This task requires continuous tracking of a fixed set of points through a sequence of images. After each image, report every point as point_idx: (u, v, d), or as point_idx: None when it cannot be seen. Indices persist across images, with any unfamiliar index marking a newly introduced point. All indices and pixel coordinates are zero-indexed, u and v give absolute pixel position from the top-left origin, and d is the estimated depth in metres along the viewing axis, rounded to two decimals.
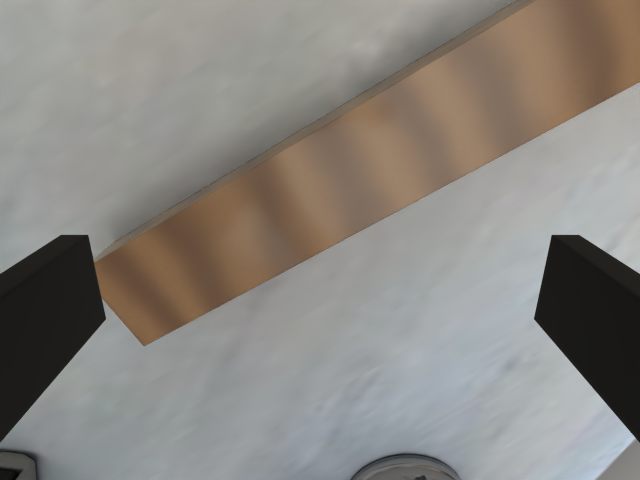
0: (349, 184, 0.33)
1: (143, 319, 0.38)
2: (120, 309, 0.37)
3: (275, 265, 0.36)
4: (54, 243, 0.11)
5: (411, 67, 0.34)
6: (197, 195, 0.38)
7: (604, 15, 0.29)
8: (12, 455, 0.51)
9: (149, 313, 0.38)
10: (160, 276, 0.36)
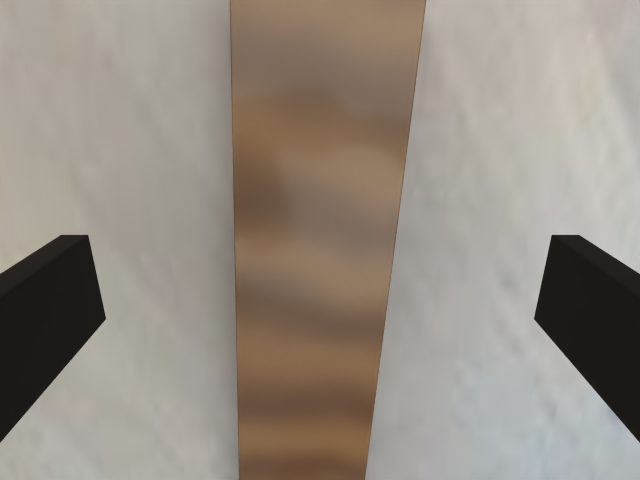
0: None
1: None
2: None
3: None
4: (54, 243, 0.11)
5: None
6: None
7: (287, 453, 0.29)
8: None
9: None
10: None
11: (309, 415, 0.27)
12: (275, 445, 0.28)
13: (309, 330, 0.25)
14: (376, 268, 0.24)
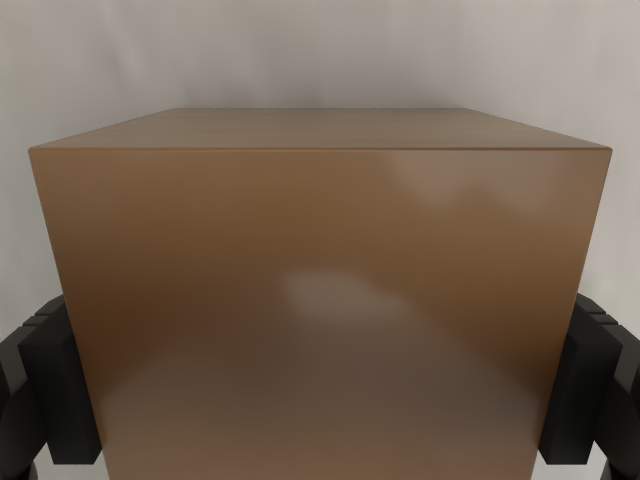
0: None
1: None
2: None
3: None
4: None
5: None
6: None
7: None
8: None
9: None
10: None
11: None
12: None
13: None
14: None
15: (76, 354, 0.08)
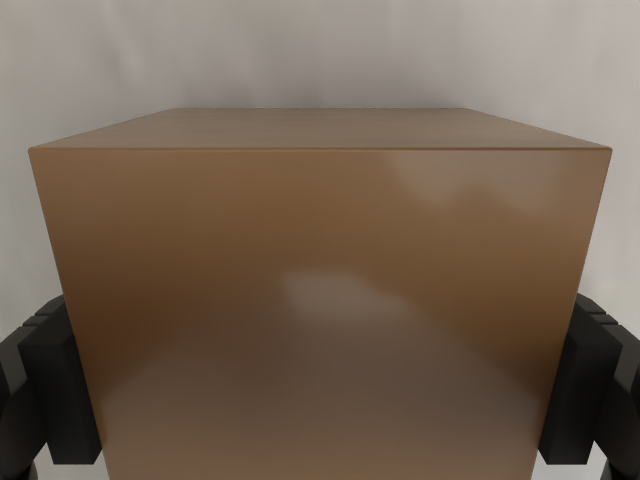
0: None
1: None
2: None
3: None
4: None
5: None
6: None
7: None
8: None
9: None
10: None
11: None
12: None
13: None
14: None
15: (76, 354, 0.08)
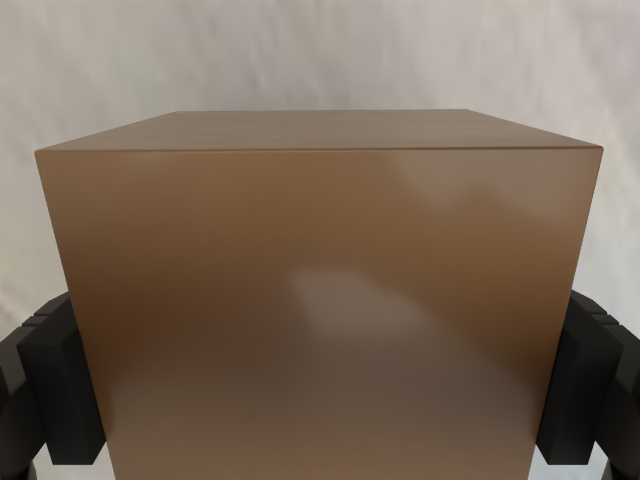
0: None
1: None
2: None
3: None
4: None
5: None
6: None
7: None
8: None
9: None
10: None
11: None
12: None
13: None
14: None
15: (75, 354, 0.08)
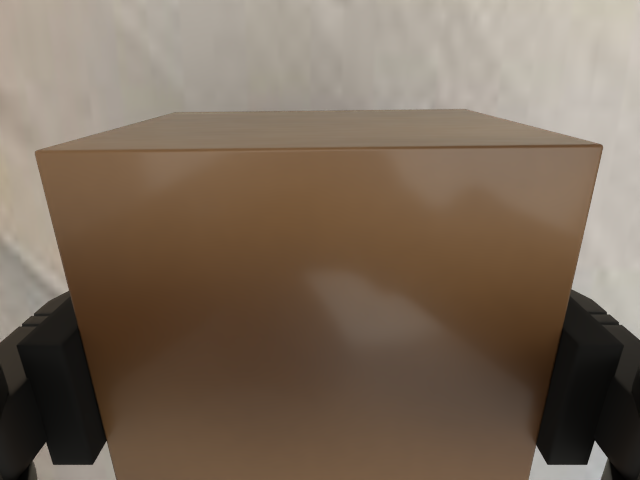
0: None
1: None
2: None
3: None
4: None
5: None
6: None
7: None
8: None
9: None
10: None
11: None
12: None
13: None
14: None
15: (75, 354, 0.08)
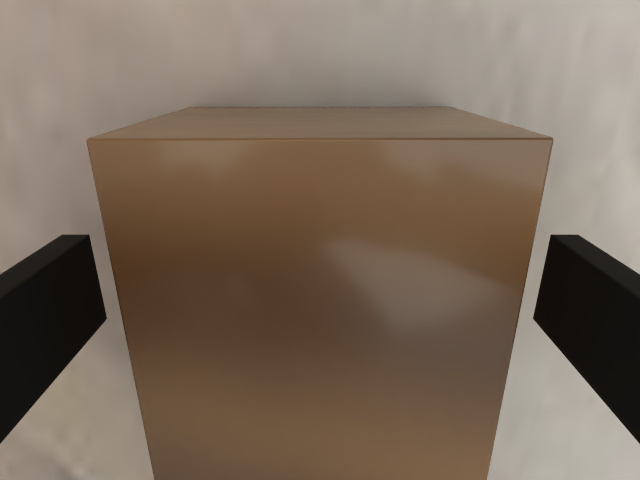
0: None
1: None
2: None
3: None
4: (55, 243, 0.11)
5: None
6: None
7: None
8: None
9: None
10: None
11: None
12: None
13: None
14: None
15: None
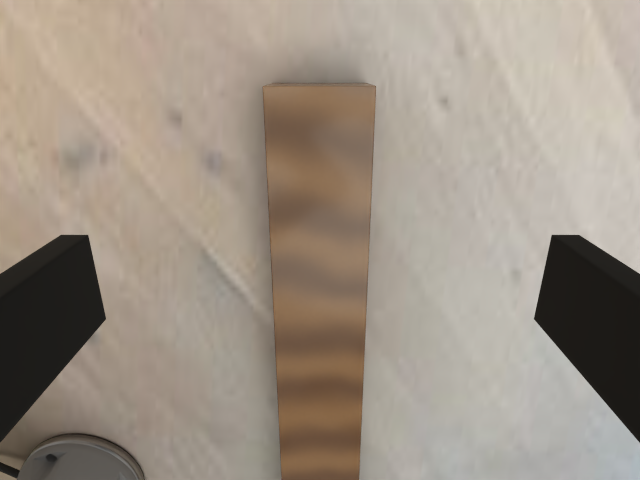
0: None
1: None
2: None
3: None
4: (54, 243, 0.11)
5: None
6: None
7: (309, 377, 0.43)
8: None
9: None
10: None
11: (322, 349, 0.42)
12: (300, 371, 0.43)
13: (319, 291, 0.39)
14: (359, 248, 0.38)
15: None
